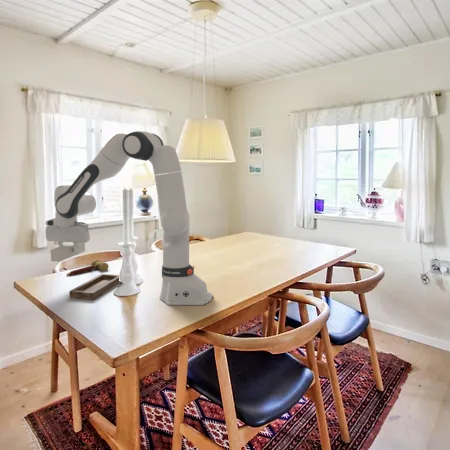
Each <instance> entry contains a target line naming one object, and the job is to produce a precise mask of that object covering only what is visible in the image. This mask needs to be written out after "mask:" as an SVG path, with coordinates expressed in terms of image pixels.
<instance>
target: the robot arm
mask: <svg viewBox="0 0 450 450" xmlns="http://www.w3.org/2000/svg"><path fill="white" fill-rule="evenodd" d="M177 153H178V152H177V150H176V148H174V147H173V146H170V145H166V144H165V145H164V142H163V140H162V138H161V137H160V136H158V135H157V134H155V133H151V132H148V131H143V130H141V131H139V130H134V131H130V132H128V133H127V134H126V133H125V132H119V131H117V132H116V133H113V135H112V136H110V137H109V138H108V140H106V142H105V144H104V145H103V146H102V148H101V149H100V150H99V151H98V153H97V155H96V156H95V157H94V159H93V160H92V161H90V163H89V164H88V165H87V166H86V167H85V168H84V169H83V170H82V171H81V173H79V174H78V176H77V177H76V179H74V181H73V183H72V184H64V185H59V186H57V187H56V188H55V189H54V194H53V195H54V199H53V200H54V201H53V202H54V207H55V217H54V218H51V219H48V220H46V221H45V226H46V227H45V231H44V232H45V239H46V242H47V241H48V242H57V245H58V247H60V246H63V245H64V242H65V243H72V242H73V244H74V247H73V248H72V252H76V251H77V246H78V244H79V242H81V243H85V244H86V243H87V242H89V241H90V240H91V236H90V230H89V224H88V223H87V222H86V221H78V216H79V217H80V216H84V215H88V214H92V213H93V212H95V210H96V206H97V201H96V198H95V197H94V195H92V194H91V193H90V192H89V193H88V191H89V190H90V189H91V188H92V187H93V186H94V185H96V184H97V183H99V182H102V181H104V180H107V179H111V178H113V177H115V176H117V175H118V174H119V173H120V172H121V171H122V169H123V168H124V166H125V165H126V164H127V162H128V160H130V158H131V159H135V160H140V161H145V162H147V161H149V162H150V163H151V165H152V169H153V175H154V181H155V187H156V193H157V202H158V211H159V217H160V218H159V219H160V225H161V226H160V227H161V229H162V230H163V234H162V235H163V236H162V265H161V279H162V283H161V290H160V295H159V299H160V300H161V301H163V302H165V304H166V305H169V306H171V305H172V306H174V305H175V306H184V305H185V306H204V304H205V305H207V304H209V303H210V302H211V301H212V299H213V293H212V292H211V291H208V287H207V283H206V282H205V281H204V280H203V279H202V278H201V277H199V276H198V275H197V274H195V272H194V271H195V265H193V266H192V265H191V264H190V213H189V211H188V208H187V207H188V206H187V201H186V200H187V199H186V192H185V186H184V179H183V178H184V177H183V174H182V173H183V172H182V168H181V163H180V158H179V156H178V154H177ZM210 300H211V301H210ZM209 301H210V302H209ZM208 302H209V303H208ZM206 303H207V304H206Z"/></svg>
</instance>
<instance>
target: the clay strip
mask: <svg viewBox="0 0 450 450" xmlns="http://www.w3.org/2000/svg"><path fill="white" fill-rule="evenodd" d="M85 245H86V242H85V243H81V242H79V244H78V246H77V251H76V252H72V248H73V247H74V244H73V242H68V243H65V244H63V246H57V247H55V248H52V249H50V261H51V262H58V263H59V262H62V261H64V260H67V259H70V258H72V257H74V256H77V255H79V254H82V253H84V252H86V246H85Z"/></svg>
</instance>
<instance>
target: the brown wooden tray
mask: <svg viewBox="0 0 450 450" xmlns="http://www.w3.org/2000/svg"><path fill="white" fill-rule="evenodd" d="M119 275H120V274H113V273H112V274H110V273H108V274H107V273H101V274H98V275H97V276H95V277H93V278H91V279H89V280H88V281H85V282H84V283H82V284H80V285H78V286H76V287H75V288H72V289H71V290H69V292H68V293H69V299H78V300H89V301H94V300H96V299H98V298H99V297H101V296H102V295H104V294H105V293H107V292H108V291H110V290H111V289H113V288H115V287H116V286H117V285H119V284H120V283H119V282H120V281H119Z"/></svg>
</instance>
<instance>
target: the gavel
mask: <svg viewBox="0 0 450 450" xmlns="http://www.w3.org/2000/svg"><path fill="white" fill-rule="evenodd" d="M96 269H97V270H100V271H101V272H105V271H108V270H109V264H108V263H107V262H102V261H100V260H98V259H95V260H93V261H91V265H88V266H85V267H82V268H78V269H74V270H72V271H71V270H70V272H68V273H66V276H67V277H68V276H77V275H79V274H84V273H87V272H91V271H93V270H96Z"/></svg>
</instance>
